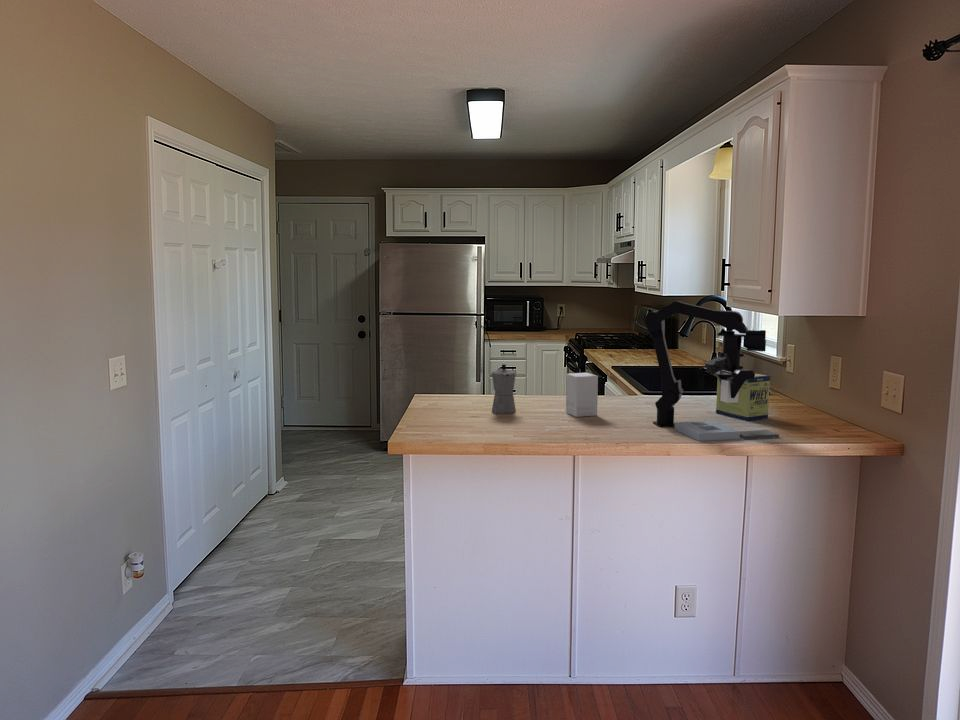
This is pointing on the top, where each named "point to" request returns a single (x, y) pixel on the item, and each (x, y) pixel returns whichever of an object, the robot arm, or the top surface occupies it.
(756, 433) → the phone
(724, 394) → the charger
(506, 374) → the coffeepot
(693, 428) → the plate
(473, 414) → the top surface
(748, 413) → the protein box
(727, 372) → the robot arm
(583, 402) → the supplement box
